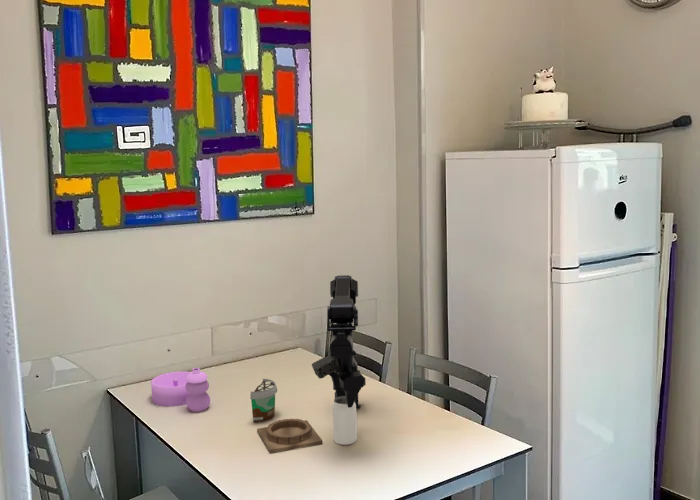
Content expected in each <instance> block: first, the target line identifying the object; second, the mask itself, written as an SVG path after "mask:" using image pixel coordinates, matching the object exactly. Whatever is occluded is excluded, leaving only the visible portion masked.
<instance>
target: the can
mask: <svg viewBox="0 0 700 500" xmlns="http://www.w3.org/2000/svg"><path fill="white" fill-rule="evenodd" d="M332 425H333V430H332V431H333V441H334V443H336V444H337V445H340V446H348V445H349V446H350V445H353V444H354V443H356V442H357V439H358V432H357V431H358V429H357V427H358V426H357V425H358V423H357V408H356V404H355V402H354V404H353V406H352V407H350V408H348V406H347V401H346V396H340V397H337V398H335V397H334V400H333V404H332Z"/></svg>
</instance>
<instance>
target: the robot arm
mask: <svg viewBox="0 0 700 500" xmlns="http://www.w3.org/2000/svg"><path fill="white" fill-rule="evenodd" d="M329 282H330V283H329V286H330V287H329V288H330V289H329V290H330V291H329V292H330V297H331V300H329V301H330V302H329V306H327V307H326V309H327V313H326V314H327V315H326V316H327V317H326V319H327V320H326V325H327V327H326V331H327V332H331V338H330V339H331V340H330V347H329V351H328V355H326V356H324V357H322V358H320V359H318V360H316V361H314V362H313V363H311V368H312V369H313V372H314V374H315V376H316V377H317V378H318V379H320V380H321V379H323V378H325V377H327V376H328V375H329V377H330V378H331V380H332V389H333V391H335V392H334V399H335V398H337V397H340V396H346V401H347V406H348V408H350V407H352V406H353V404H354V402H355V404H356V409H360V408H361V405H360V404H359V393H360V391H361V390H362V388H364V386H366V377H365V376H364V375H363V374H362V373H361V370H359V369H358V368H359V367H358V362H357V361H356V359H355V358H354V356H356V351H355V350H354V332H353V331H356V328H357V327H358V326H359V311H358V308H357V306H356V304H357V303H356V302H357V297H359V284H358V283H359V282H358V280H355V279H353V278H352V275H335V276H334V279H332V280H331V281H329Z"/></svg>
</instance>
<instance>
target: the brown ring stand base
mask: <svg viewBox="0 0 700 500" xmlns="http://www.w3.org/2000/svg"><path fill="white" fill-rule="evenodd" d="M256 432H257V434H258V436H259V437H260V439H261V441H262V443H263V445H264V446H265V448H266V450H267V452H268V453H269V454H275V453H281V452H285V451H291V450H296V449H302V448H307V447H312V446H313V447H314V446H319V445H323V442H324V441H323V439H322V438H321V437H320V435H319V434H318V433H317V431H316V430H315V429H314V428H313V426H312V425H311V423H309V421H308V420H307V419H306V420H303V419H302V418H301V419H299V418H284V419H278V420H275V421H273V422H271V423H269V424H268V425H267V426H264V427H259V428H257V429H256Z"/></svg>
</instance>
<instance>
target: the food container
mask: <svg viewBox="0 0 700 500" xmlns="http://www.w3.org/2000/svg"><path fill="white" fill-rule="evenodd" d="M277 392H278V387H277V384H276V382H275V381H274V380H272V379H269V378H262V382H261V383H260V384H259V385H258V386H257V387H255V389H254V391H250V393H249V394H250V396H249V397H250V400H251V403H250V404H251V413H252V421H253V423H256V424H257V423H264V422H268V421H271V420H273V418H275V416H276V415H275V414H276V413H275V412H276V393H277Z"/></svg>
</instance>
